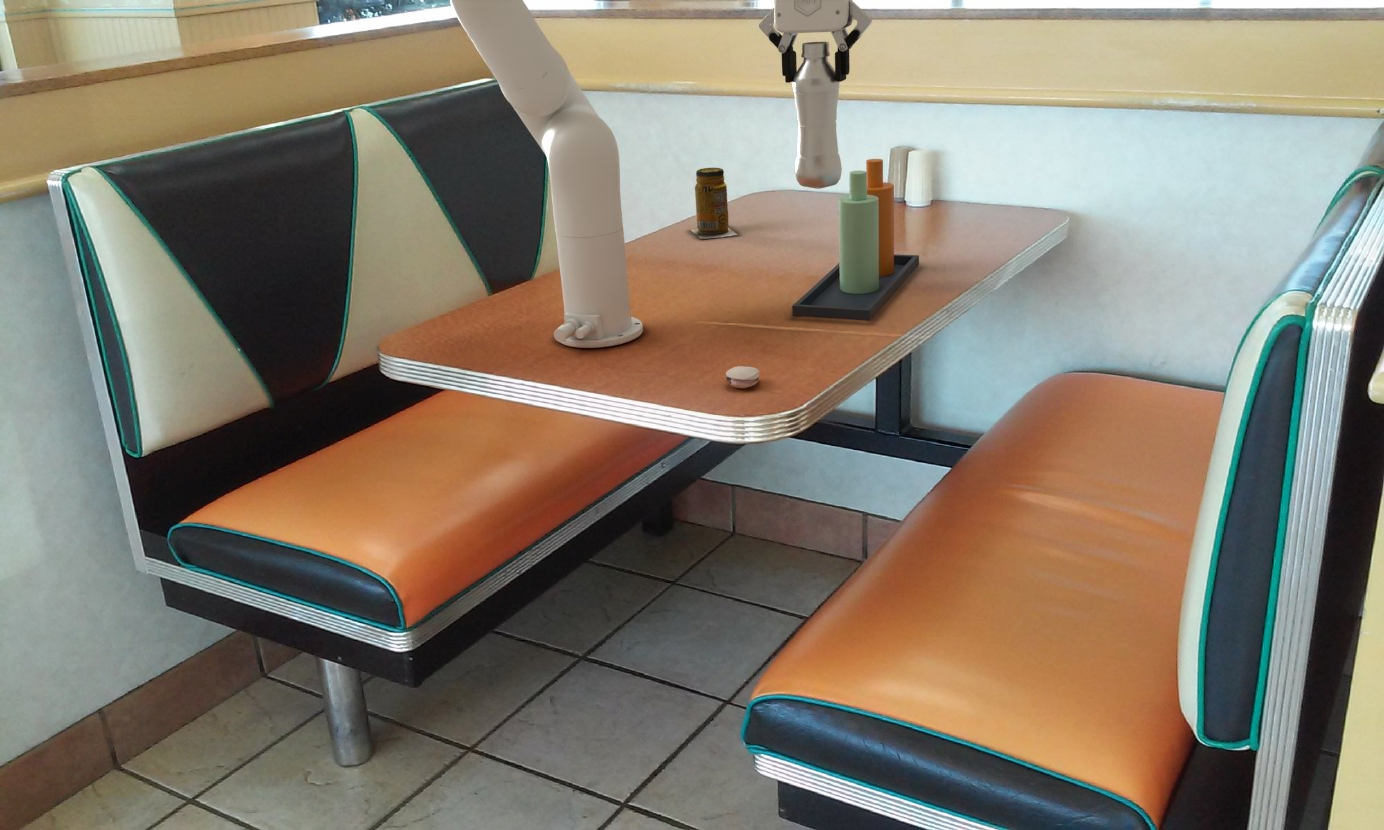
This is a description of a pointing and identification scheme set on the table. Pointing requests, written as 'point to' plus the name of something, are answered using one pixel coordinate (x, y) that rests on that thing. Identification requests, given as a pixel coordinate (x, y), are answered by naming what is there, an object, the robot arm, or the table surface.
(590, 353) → the table surface
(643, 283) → the table surface
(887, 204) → the amber bottle
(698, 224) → the condiment
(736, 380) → the macaroon
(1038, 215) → the table surface
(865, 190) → the sage bottle
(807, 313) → the tray
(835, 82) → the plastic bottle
